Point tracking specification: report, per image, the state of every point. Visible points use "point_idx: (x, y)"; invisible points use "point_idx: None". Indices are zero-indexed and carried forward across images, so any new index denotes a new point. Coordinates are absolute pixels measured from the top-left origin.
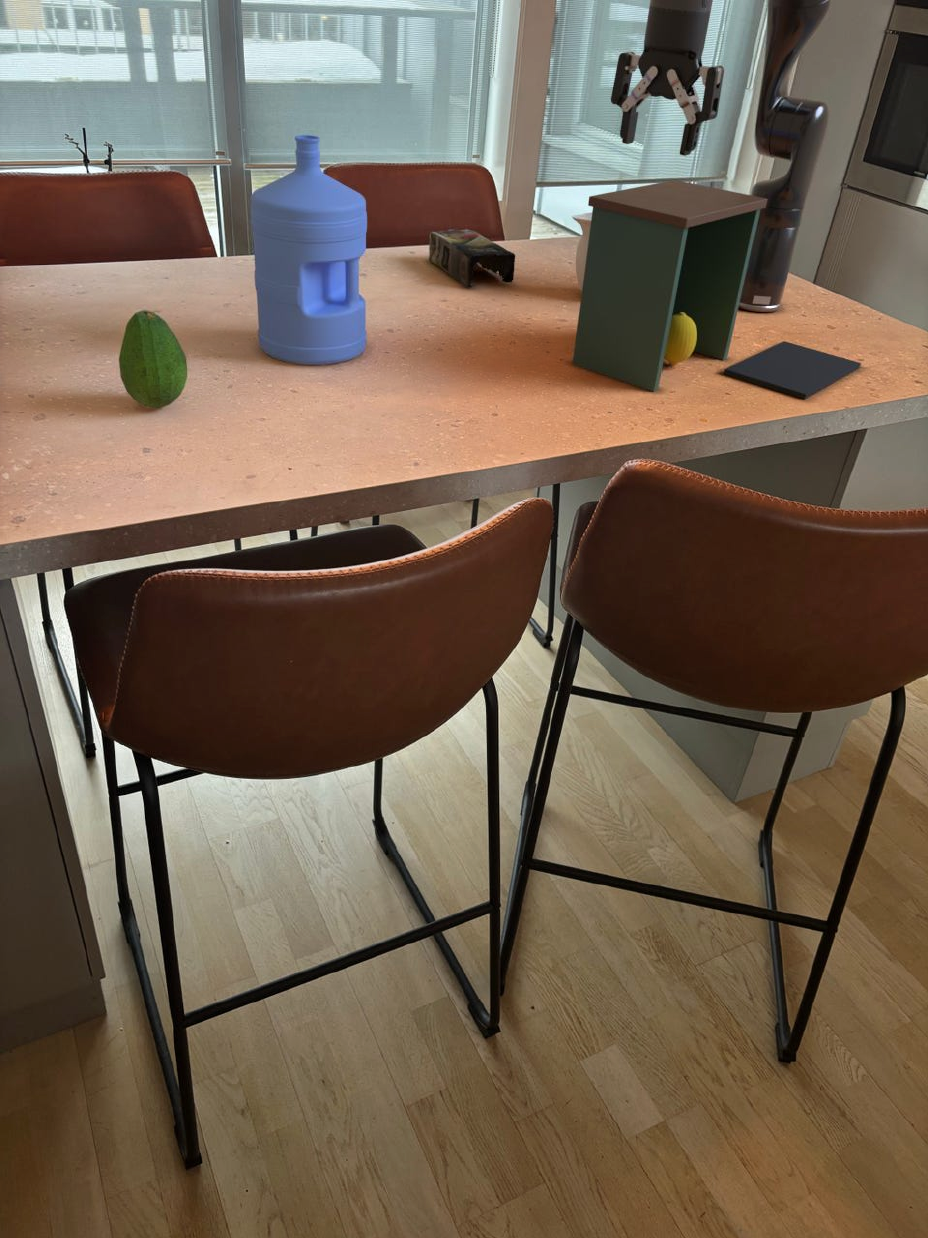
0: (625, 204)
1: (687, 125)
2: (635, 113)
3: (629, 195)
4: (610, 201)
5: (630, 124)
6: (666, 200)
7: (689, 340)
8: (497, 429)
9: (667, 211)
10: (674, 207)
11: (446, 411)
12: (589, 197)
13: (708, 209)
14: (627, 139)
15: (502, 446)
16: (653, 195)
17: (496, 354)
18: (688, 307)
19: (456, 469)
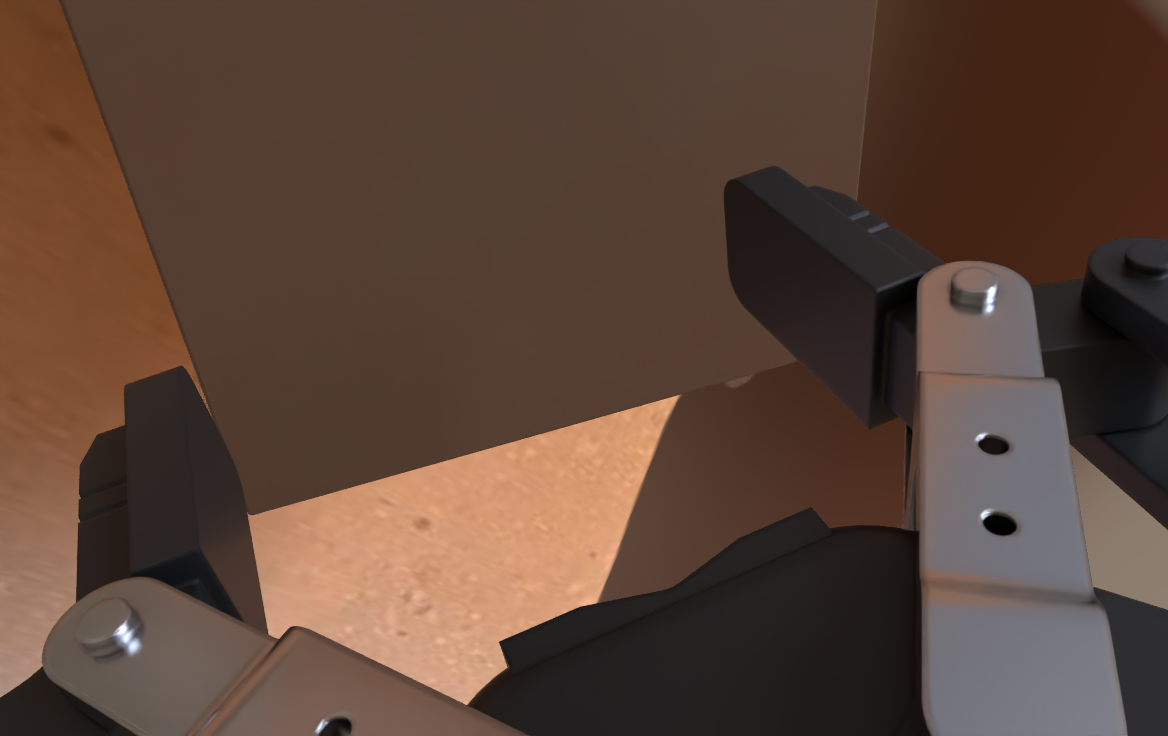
0: (497, 443)
1: (889, 415)
2: (233, 595)
3: (317, 267)
4: (400, 471)
5: (252, 572)
6: (539, 132)
7: None
8: (485, 549)
9: (713, 341)
10: (681, 234)
11: (351, 599)
12: (255, 513)
13: (822, 69)
14: (239, 488)
15: (549, 571)
16: (384, 94)
17: (10, 315)
18: None
19: None
